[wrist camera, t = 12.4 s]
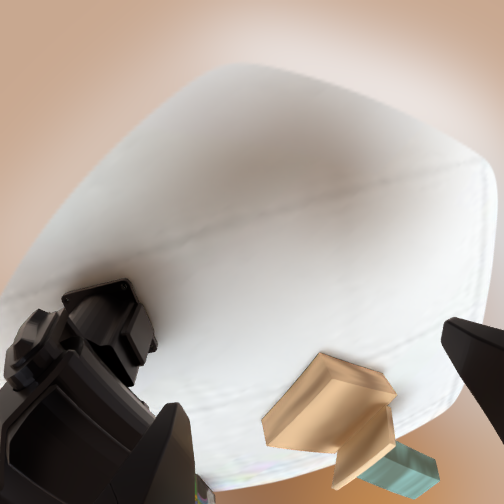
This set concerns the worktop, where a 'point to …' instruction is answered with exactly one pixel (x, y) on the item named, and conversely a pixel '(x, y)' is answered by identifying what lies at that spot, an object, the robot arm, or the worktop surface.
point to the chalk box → (203, 492)
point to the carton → (326, 406)
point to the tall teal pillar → (384, 460)
